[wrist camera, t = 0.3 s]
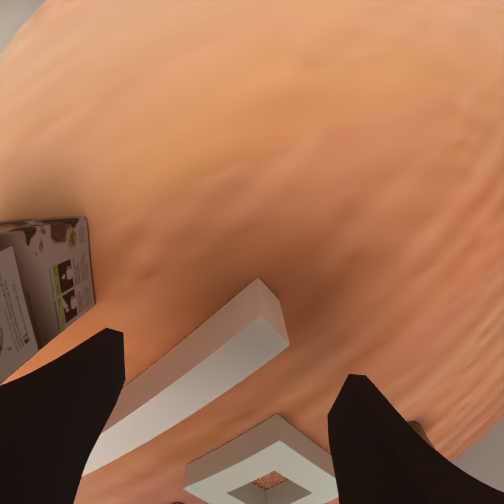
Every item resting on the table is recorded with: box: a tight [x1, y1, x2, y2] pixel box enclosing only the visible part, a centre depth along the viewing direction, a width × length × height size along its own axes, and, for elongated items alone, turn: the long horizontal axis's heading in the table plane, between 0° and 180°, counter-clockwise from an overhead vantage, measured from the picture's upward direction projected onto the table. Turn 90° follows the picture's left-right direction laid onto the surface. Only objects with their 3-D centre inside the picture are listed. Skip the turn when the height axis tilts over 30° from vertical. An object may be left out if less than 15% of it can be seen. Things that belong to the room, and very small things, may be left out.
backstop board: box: [82, 277, 290, 476], centre depth 18 cm, size 20×2×6 cm, turn 132°
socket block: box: [182, 414, 339, 504], centre depth 22 cm, size 10×10×3 cm
